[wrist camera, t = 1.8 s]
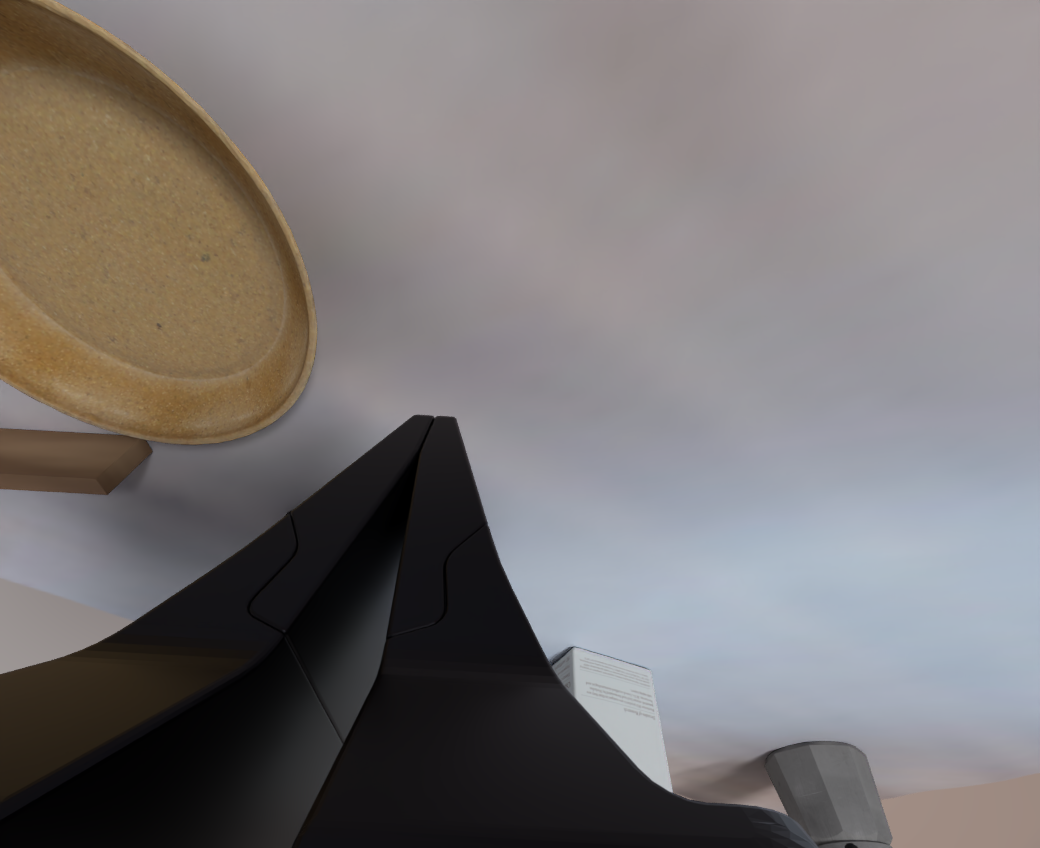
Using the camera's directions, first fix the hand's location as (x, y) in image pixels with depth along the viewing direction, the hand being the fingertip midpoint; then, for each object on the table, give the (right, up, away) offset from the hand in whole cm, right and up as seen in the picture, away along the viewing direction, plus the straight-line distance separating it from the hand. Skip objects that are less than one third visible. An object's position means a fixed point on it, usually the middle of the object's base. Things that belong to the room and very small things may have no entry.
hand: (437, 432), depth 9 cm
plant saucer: (-13, +7, +8) cm, 16 cm away
